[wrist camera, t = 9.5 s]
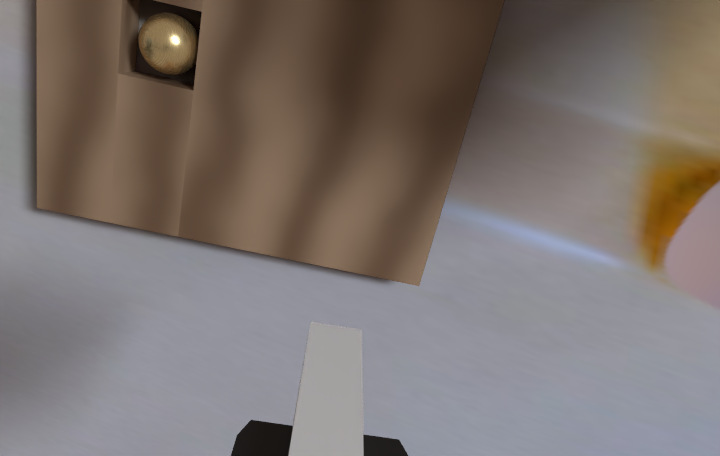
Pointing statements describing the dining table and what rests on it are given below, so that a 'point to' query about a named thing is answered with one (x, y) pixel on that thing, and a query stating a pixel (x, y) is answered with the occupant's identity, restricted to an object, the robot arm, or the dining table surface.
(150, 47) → the brass ball
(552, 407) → the dining table surface
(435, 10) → the hole plate
